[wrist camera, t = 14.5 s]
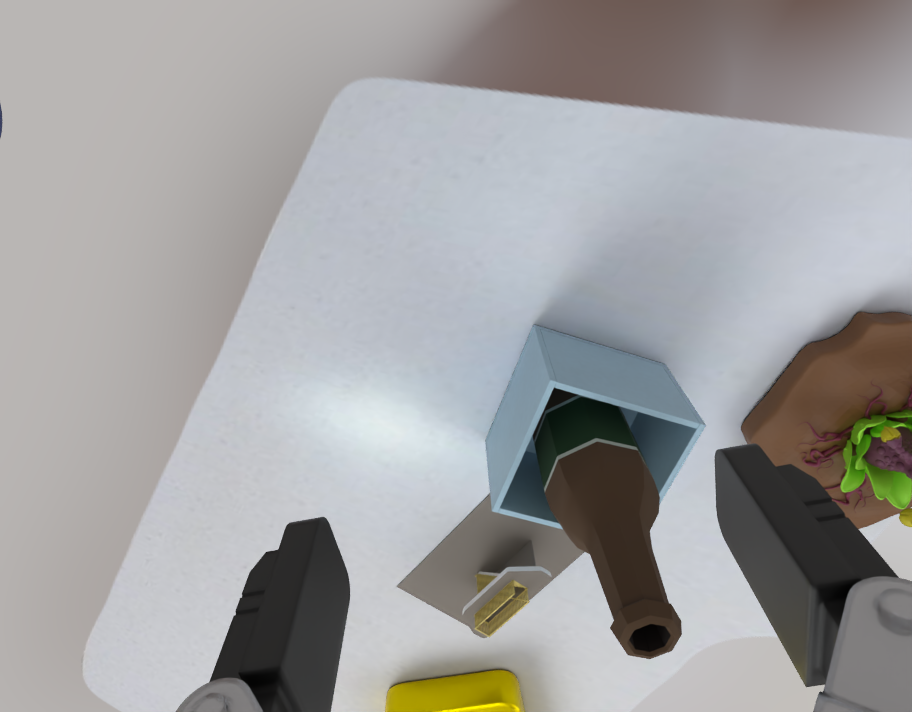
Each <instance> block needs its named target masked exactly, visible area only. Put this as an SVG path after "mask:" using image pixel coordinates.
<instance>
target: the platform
mask: <svg viewBox="0 0 912 712" xmlns="http://www.w3.org/2000/svg"><path fill="white" fill-rule="evenodd" d="M584 552H585V551H582V550H580V549H578V548H577V547H576V546H575V544H574V543H573V542H572V541H571V540H570V539H569V537H568V536H567V534H566V533H565V531H564V530H563V529H559V528H555V527H551V526H547V525H544V524H540V523H536V522H532V521H528V520H524V519H520V518H516V517H512V516H508V515H504V514H500V513H497V512H493V511H492V508H491V497H490V494H489V495H488V496H487V497H486V498H485V499H484V500H483V501H482V502H481V503H480V504H479V505H478V506H477V507H476V508H475V509H474V510H473V511H472V512H471V513H470V514H469V515H468V516H467V517H466V518H465V519H464V520H463V521H462V522H461V523H460V524H459V525H458V526H457V527H456V528H455V529H454V530H453V531H452V532H451V533H450V534H449V535H448V536H447V537H446V538H445V539H444V540H443V541H442V542H441V543H440V544H439V545H438V546H437V547H436V548H435V549H434V550H433V551H432V552H431V553H430V554H429V555H428V556H427V557H426V558H425V559H424V560H423V561H422V562H421V563H420V564H419V565H418V566H417V567H416V568H415V569H414V570H413V571H412V572H411V573H410V574H409V575H408V576H407V577H406V578H405V579H404V580H403V581H402V582H401V583H400V584H399V585H398V586H397V587H398V588H400V589H402V590H404V591H406V592H407V593H409V594H411V595H413V596H415V597H416V598H418V599H420V600H422V601H424V602H426V603H427V604H429V605H431V606H433V607H435V608H436V609H438V610H440V611H442V612H444V613H445V614H447V615H449V616H451V617H453V618H454V619H456V620H458V621H460V622H462V623H463V624H465V625H467V626H469V627H470V629H471V630H472V632H473V633H474V634H476V635H478V636H480V637H482V638H486V637H490V636H491V635H492V634H494V633H495V632H496V631H497V630H498V629H499V628H500V627H502V626H503V625H504V624H505V623H506V622H507V621H508V620H510V619H511V618H512V617H513V616H514V615H515V614H516V613H518V612H519V611H520V610H521V609H522V608H523V607H524V606H525V605H527V604H528V603H529V602H530V601H529V600H530V599H532V598H533V597H534V596H535V595H536V594H537V593H538V592H539V591H541V590H542V589H543V588H544V587H545V586H546V585H547V584H549V583H550V582H551V581H552V580H553V579H554V578H555V577H557V576H558V575H559V574H560V573H561V572H562V571H563V570H565V569H566V568H567V567H568V566H569V565H570V564H571V563H572V562H574V561H575V560H576V559H577V558H578V557H579V556H580V555H582V554H583V553H584Z"/></svg>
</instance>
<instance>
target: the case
mask: <svg viewBox="0 0 912 712" xmlns="http://www.w3.org/2000/svg"><path fill="white" fill-rule="evenodd" d="M554 387H555V388H557V389H561V390H564V391H568V392H571V393H575V394H578V395H582V396H585V397H588V398H592V399H595V400H599V401H602V402H606V403H609V404H613V405H616V406H619V407H620V409H621V410H622V412H623V414H624V416H625V418H626V421H627V423H628V425H629V427H630V429H631V431H632V433H633V436H634V438H635V440H636V442H637V444H638V446H639V448H640V451H641V453H642V455H643V457H644V459H645V461H646V464H647V466H648V468H649V470H650V472H651V474H652V476H653V479H654V481H655V484H656V487H657V490H658V493H659V496H660V502H659V505H660V503H661V501H662V499H663V498H664V496H665V494H666V493H667V491H668V489H669V487H670V486H671V484H672V482H673V481H674V479H675V477H676V476H677V474H678V472H679V470H680V469H681V467H682V465H683V464H684V462H685V460H686V458H687V457H688V455H689V453H690V452H691V450H692V448H693V447H694V445H695V443H696V441H697V440H698V438H699V436H700V435H701V433H702V431H703V430H704V428H705V426H706V425H705V423H704V422H703V420H702V419H701V417H700V416H699V414H698V413H697V411H696V410H695V408H694V407H693V405H692V404H691V402H690V401H689V399H688V398H687V396H686V395H685V393H684V392H683V390H682V389H681V387H680V386H679V384H678V383H677V381H676V380H675V378H674V377H673V375H672V374H671V372H670V371H669V369H668V368H667V366H666V365H665V364H662V363H659V362H656V361H652V360H649V359H646V358H642V357H639V356H636V355H632V354H629V353H626V352H623V351H619V350H616V349H613V348H609V347H606V346H603V345H599V344H596V343H593V342H590V341H586V340H583V339H580V338H576V337H573V336H570V335H566V334H563V333H560V332H557V331H553V330H550V329H547V328H543V327H540V326H537V325H533V327H532V330H531V332H530V335H529V337H528V339H527V342H526V344H525V347H524V349H523V351H522V354H521V356H520V359H519V361H518V363H517V366H516V368H515V371H514V373H513V376H512V378H511V380H510V383H509V385H508V388H507V390H506V392H505V395H504V397H503V400H502V402H501V405H500V407H499V409H498V412H497V414H496V417H495V419H494V421H493V424H492V426H491V429H490V431H489V433H488V436H487V438H486V441H485V442H486V453H487V464H488V475H489V486H490V497H491V508H492V511H493V512H497V513H500V514H504V515H508V516H512V517H516V518H520V519H524V520H528V521H532V522H536V523H540V524H544V525H547V526H551V527H555V528H559V529H563V528H562V527H561V525H560V524H559V522H558V521H557V519H556V518H555V516H554V514H553V513H552V511H551V510H550V507H549V504H548V501H547V498H546V495H545V492H544V488H543V483H542V478H541V473H540V469H539V464H538V459H537V454H536V450H535V445H534V440H533V433H534V431H535V429H536V426H537V424H538V422H539V420H540V417H541V415H542V413H543V411H544V409H545V406H546V404H547V402H548V400H549V397H550V395H551V393H552V391H553V389H554Z"/></svg>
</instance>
